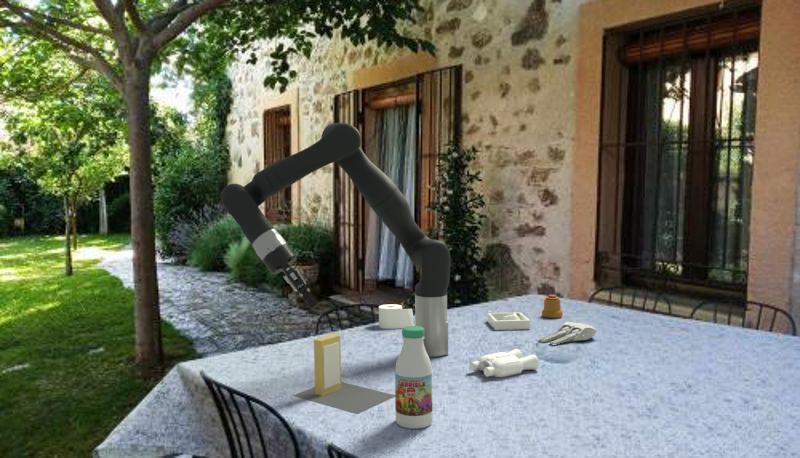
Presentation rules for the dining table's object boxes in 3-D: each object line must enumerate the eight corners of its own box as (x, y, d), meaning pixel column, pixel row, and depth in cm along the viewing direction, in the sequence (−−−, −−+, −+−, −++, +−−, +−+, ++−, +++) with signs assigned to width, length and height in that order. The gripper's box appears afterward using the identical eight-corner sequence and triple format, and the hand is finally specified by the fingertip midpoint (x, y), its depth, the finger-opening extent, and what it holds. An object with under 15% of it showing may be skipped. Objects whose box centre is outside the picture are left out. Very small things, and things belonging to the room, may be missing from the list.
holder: (520, 320, 222) (520, 312, 221) (530, 329, 209) (530, 320, 208) (487, 321, 221) (487, 313, 221) (494, 330, 208) (494, 321, 208)
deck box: (315, 393, 146) (313, 339, 145) (334, 386, 151) (332, 333, 150) (322, 396, 145) (321, 341, 144) (341, 388, 150) (340, 335, 149)
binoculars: (539, 372, 163) (539, 354, 163) (492, 383, 155) (492, 364, 154) (513, 362, 172) (513, 345, 172) (466, 372, 164) (466, 354, 163)
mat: (292, 397, 145) (292, 395, 145) (333, 381, 156) (333, 379, 156) (357, 415, 133) (357, 413, 133) (397, 397, 144) (396, 395, 144)
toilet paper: (413, 327, 213) (413, 307, 213) (381, 329, 211) (381, 309, 210) (408, 322, 221) (407, 303, 221) (377, 324, 219) (376, 304, 218)
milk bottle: (394, 416, 133) (393, 324, 131) (430, 414, 133) (429, 323, 132) (397, 430, 125) (395, 333, 123) (435, 429, 126) (434, 331, 124)
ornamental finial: (559, 314, 231) (564, 318, 224) (539, 314, 231) (544, 319, 224) (560, 293, 231) (565, 296, 223) (539, 293, 231) (544, 297, 223)
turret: (534, 348, 194) (533, 333, 194) (579, 330, 204) (578, 316, 203) (557, 355, 186) (555, 340, 185) (603, 336, 195) (602, 322, 195)
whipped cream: (515, 331, 210) (516, 318, 209) (496, 327, 213) (497, 314, 212) (523, 325, 216) (524, 312, 216) (505, 321, 220) (506, 308, 219)
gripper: (265, 265, 161) (304, 318, 159) (258, 255, 148) (300, 313, 146) (288, 248, 163) (328, 300, 160) (284, 236, 150) (326, 293, 148)
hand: (315, 306), depth 153 cm, fingers closed
